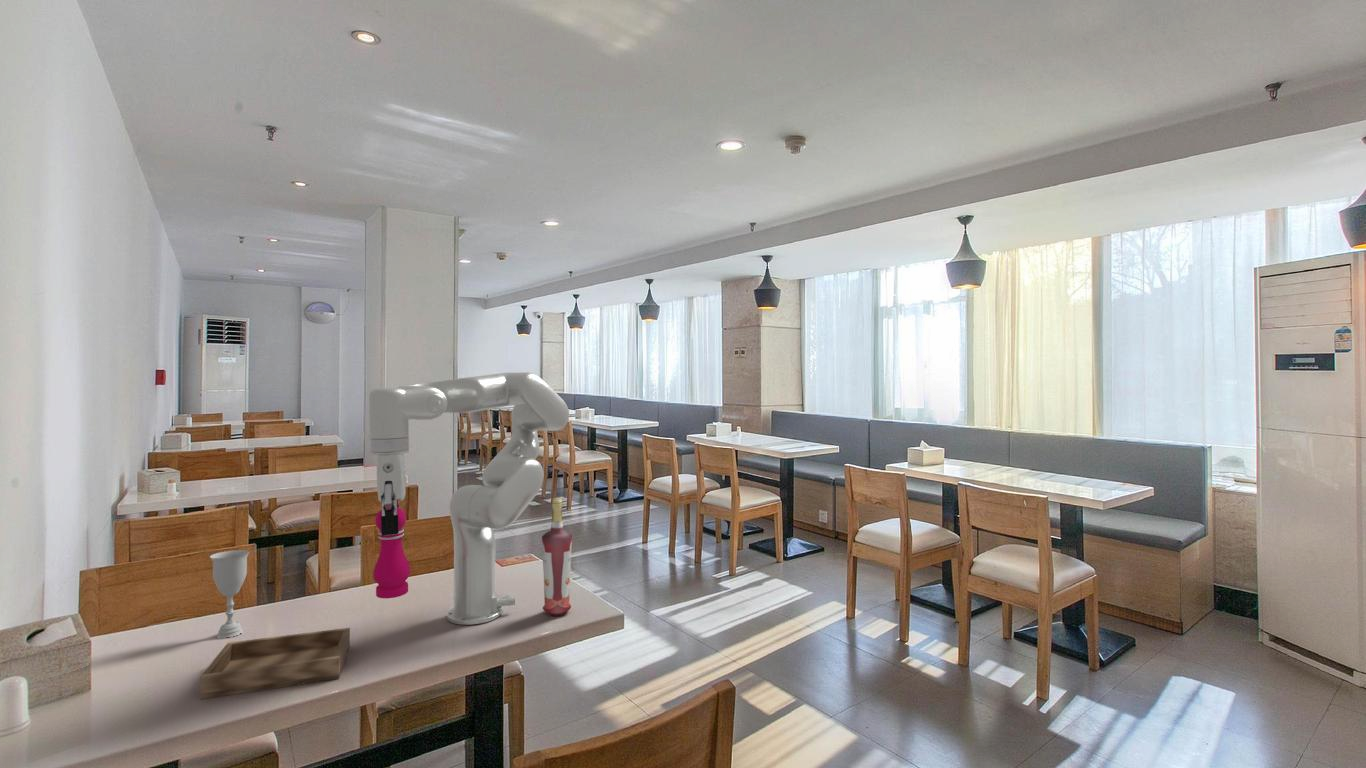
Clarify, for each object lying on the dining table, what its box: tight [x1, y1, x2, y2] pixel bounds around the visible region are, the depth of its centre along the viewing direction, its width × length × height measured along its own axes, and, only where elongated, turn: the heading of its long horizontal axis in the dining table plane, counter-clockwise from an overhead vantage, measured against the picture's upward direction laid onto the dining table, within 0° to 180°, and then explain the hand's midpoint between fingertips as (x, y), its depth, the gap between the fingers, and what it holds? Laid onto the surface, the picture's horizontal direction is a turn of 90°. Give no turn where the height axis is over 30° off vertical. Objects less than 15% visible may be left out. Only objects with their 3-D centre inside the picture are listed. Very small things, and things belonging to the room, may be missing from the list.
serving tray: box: [199, 627, 351, 700], centre depth 125 cm, size 22×16×4 cm
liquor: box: [541, 497, 573, 617], centre depth 156 cm, size 7×7×28 cm
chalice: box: [209, 549, 250, 639], centre depth 143 cm, size 7×7×18 cm
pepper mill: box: [372, 504, 411, 599], centre depth 135 cm, size 7×7×20 cm
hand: (391, 529), depth 135 cm, fingers closed on pepper mill, 5 cm apart
